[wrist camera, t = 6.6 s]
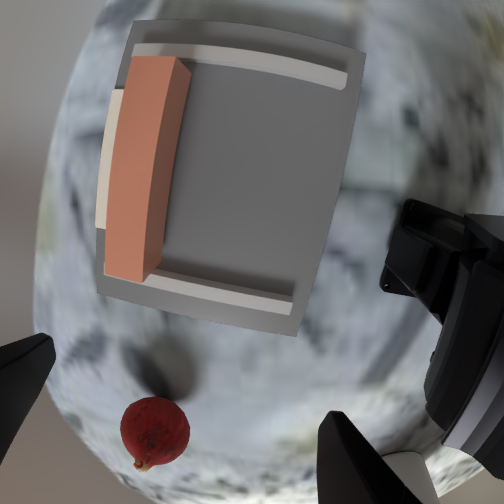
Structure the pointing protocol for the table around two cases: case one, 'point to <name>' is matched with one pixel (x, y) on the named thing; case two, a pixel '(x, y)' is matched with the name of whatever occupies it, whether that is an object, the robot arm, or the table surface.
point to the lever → (143, 165)
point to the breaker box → (242, 170)
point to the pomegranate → (154, 432)
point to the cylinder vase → (413, 475)
